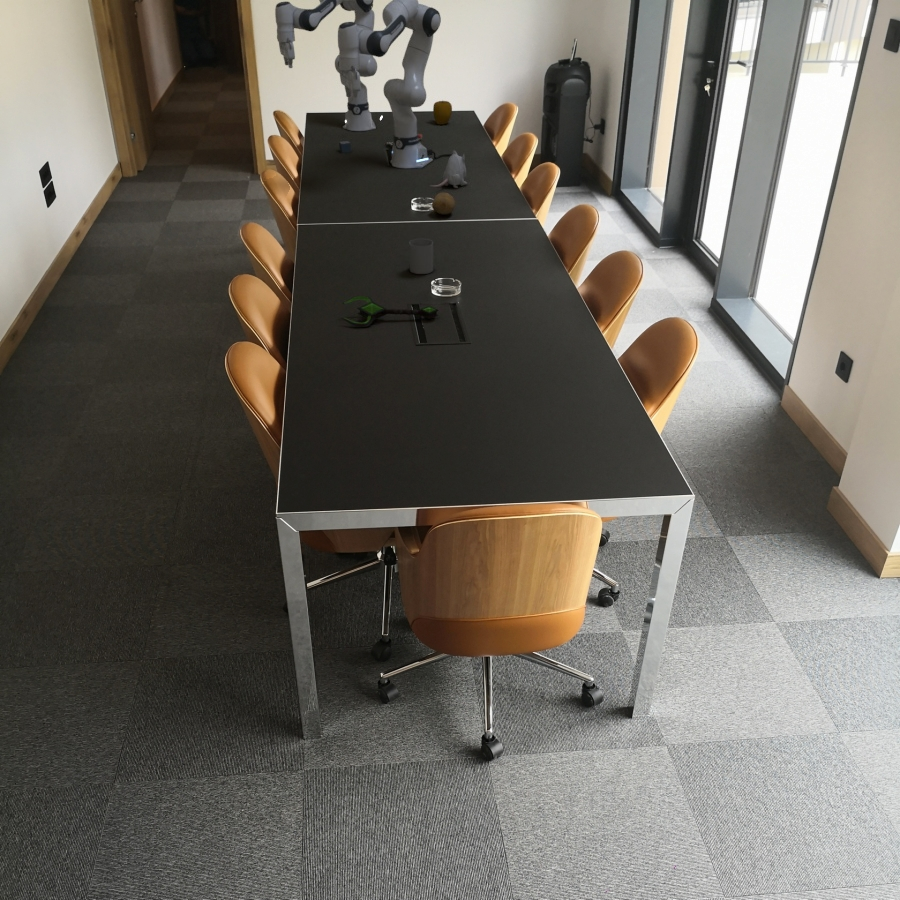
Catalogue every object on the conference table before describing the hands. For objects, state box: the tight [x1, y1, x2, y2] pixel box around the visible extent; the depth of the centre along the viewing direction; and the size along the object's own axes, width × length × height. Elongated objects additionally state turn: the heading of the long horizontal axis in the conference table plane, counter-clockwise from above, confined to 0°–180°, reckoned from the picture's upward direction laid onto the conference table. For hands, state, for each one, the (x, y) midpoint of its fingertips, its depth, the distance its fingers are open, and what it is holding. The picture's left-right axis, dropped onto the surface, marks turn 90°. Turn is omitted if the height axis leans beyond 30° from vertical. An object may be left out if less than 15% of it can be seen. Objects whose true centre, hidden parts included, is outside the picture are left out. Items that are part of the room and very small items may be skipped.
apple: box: [432, 100, 453, 126], centre depth 501 cm, size 11×11×13 cm
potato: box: [431, 192, 456, 216], centre depth 360 cm, size 10×14×8 cm
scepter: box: [341, 295, 439, 328], centre depth 271 cm, size 6×13×30 cm
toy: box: [428, 149, 468, 189], centre depth 390 cm, size 9×24×15 cm, turn 137°
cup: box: [408, 237, 434, 275], centre depth 305 cm, size 8×8×10 cm
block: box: [338, 140, 352, 154], centre depth 450 cm, size 5×4×5 cm
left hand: (288, 66), depth 453 cm, fingers open, 8 cm apart
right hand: (351, 99), depth 378 cm, fingers open, 8 cm apart
